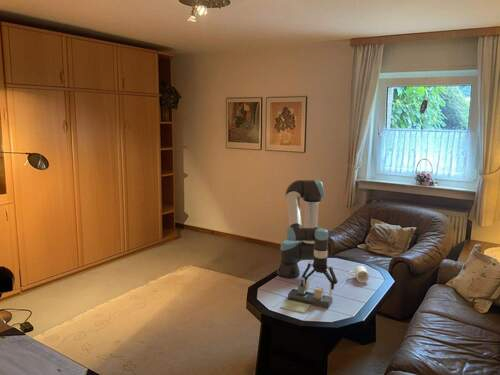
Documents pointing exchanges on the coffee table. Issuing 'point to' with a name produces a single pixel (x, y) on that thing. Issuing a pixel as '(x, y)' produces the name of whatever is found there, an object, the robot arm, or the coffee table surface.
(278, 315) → the coffee table surface
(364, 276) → the mug
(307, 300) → the panel
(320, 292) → the plug
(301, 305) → the tray
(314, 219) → the robot arm
